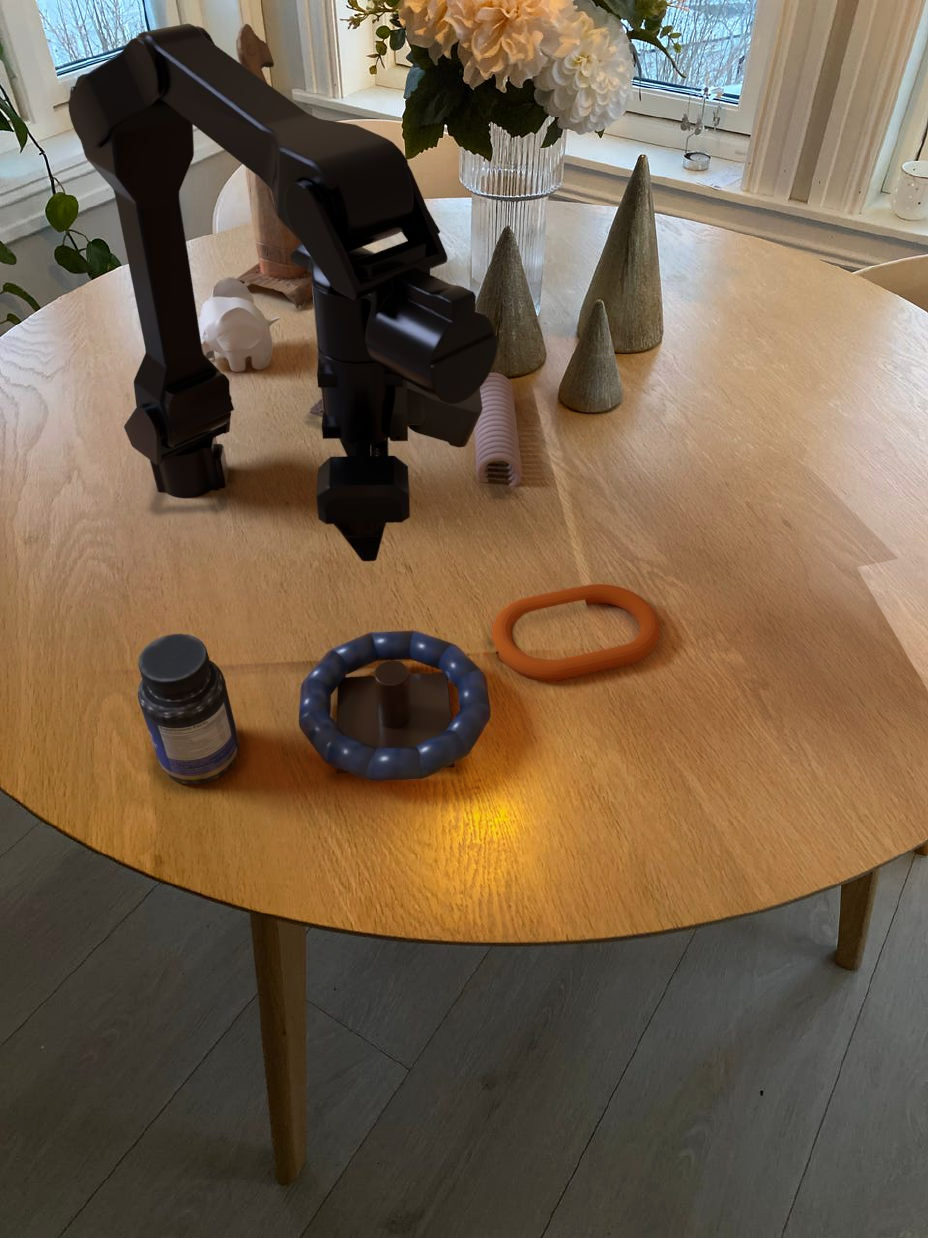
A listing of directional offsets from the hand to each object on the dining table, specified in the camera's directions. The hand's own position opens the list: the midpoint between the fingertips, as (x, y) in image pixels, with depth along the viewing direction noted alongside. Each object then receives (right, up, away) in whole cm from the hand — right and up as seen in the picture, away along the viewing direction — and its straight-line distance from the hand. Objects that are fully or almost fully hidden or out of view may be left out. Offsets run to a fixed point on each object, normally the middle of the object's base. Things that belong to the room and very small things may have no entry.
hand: (369, 522), depth 76 cm
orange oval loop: (+17, -9, +8) cm, 21 cm away
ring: (+2, -14, -1) cm, 14 cm away
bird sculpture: (-17, +39, +58) cm, 72 cm away
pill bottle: (-13, -18, -2) cm, 22 cm away
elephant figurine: (-21, +24, +43) cm, 53 cm away
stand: (+2, -16, 0) cm, 16 cm away
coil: (+11, +11, +29) cm, 33 cm away
